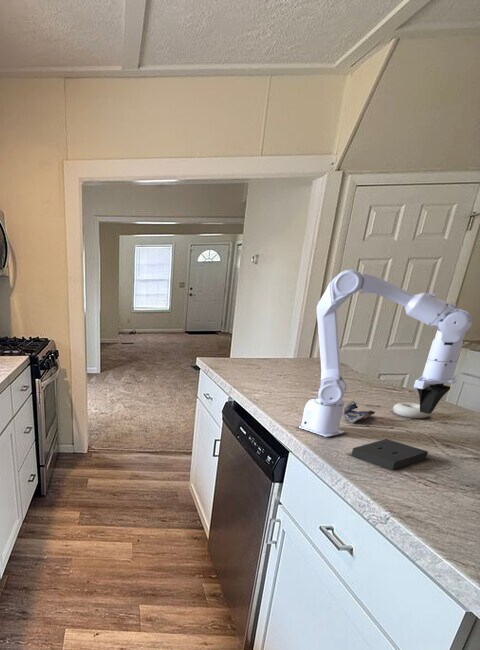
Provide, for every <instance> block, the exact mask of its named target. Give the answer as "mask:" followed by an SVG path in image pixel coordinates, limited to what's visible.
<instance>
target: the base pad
mask: <svg viewBox="0 0 480 650" xmlns="http://www.w3.org/2000/svg"><path fill="white" fill-rule="evenodd" d="M380 449H381V447H379V446H376V445H373V444H370V443H366V444H363V445H359V446H356V447H353V448H352V451H351V456H352V457H355V458H358V459H360V460H363V461H366V462H368V463H369V462H370V463H372V464H374V465H377V466H379V467H383V468H385V469H388V470H391V471H393V470H396V469H400V468H402V467H405V466H408V465H411V464H410V460H411V456H408V455H405V454H401V453H396V454H392V453H389V452H386V451H383V450H380Z"/></svg>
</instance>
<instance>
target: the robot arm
mask: <svg viewBox="0 0 480 650" xmlns="http://www.w3.org/2000/svg"><path fill="white" fill-rule="evenodd" d="M359 291H360V294H375V295H377V296H380V297H382V298H384V299H387V300H389V301H391V302H394V303H396V304H398V305H399V306H403V307H404V311H405V315H407V316H408V317H411V318H413V319H415V320H417V321H419V322H422V323H423V324H425V325H427V326H429V327H436V328H437V329H436V333H435V336H434V338H433V340H432V342H431V345H430V349H429V352H428V356H427V359H426V362H425V366H424V369H423V372H422V375H421V376H420V377H419V378H418V379H415V381H414V385H413V389H416V390H417V393H418V397H419V398H418V399H419V404H420V412H422V413H427V414H430V415H431V414H432V413H433V411H434V410H435V409H436V407H437V405H438V404H439V402H440V401H441V399H442V398H443V397H444V396H445V395H446V394H447V393H448V392H449V391H450V390H451V387H452V386H450V385H445V384H452V385H453V384H456V383H457V379H456V377H457V375H456V374H454V371H455V368H456V365H457V362H458V360H459V355H460V353H461V350H462V347H463V343H464V341H463V340H464V338H465V337H466V332H467V331H469V329H470V328H471V327H472V325H473V322H472V321H473V320H472V316H471V314H470V312H468V311H466V310H464V309H462V308H461V307H456V306H457V304H456V303H455V302H451V303H449V302H446V301H444V300H442V299H440V298H438V297H436V296H437V294H436V293H434V292H432V291H431V292H429V293H427V292H420V293H417V294H413V293H411V292H409V291H407V290H405V289H403V288H401V287H399V286H397V285H395V284H393V283H391V282H389V281H387V280H385V279H384V278H381V277H379V276H375V275H373V274H368V273H364V272H360V271H358V270H355V269H345V270H343V271H341V272H339V273H338V274H337V275H336V276H334V278H333V279H332V280H331V281H330V282H329V283H328V285H327V288H326V289H325V291H324V293H323V294H322V296H321V298H320V299H319V301H318V303H317V304H316V305H317V306H316V318H317V319H316V320H317V333H318V344H319V345H318V346H319V357H320V370H321V372H320V373H321V374H320V387H319V389H318V392H317V397H316V398H311V399H309V400H308V401H307V402H306V404H305V406H304V410H303V414H302V420H301V423H300V424H301V425H299V426H298V427H299V429H302V430H305V431H308V432H311V433H313V434H317V435H319V436H322V437H325V438H330V437H333V436H337V435H341V434H344V433H345V430H342V429H340V428H339V427H340V424H341V421H342V416H343V415H342V414H343V410H344V408H345V407H344V406H345V401H344V399H343V398H344V396H345V392H346V390H347V383H346V381H345V380H344V379H343V373H342V368H341V355H340V341H339V340H340V339H339V327H338V312H337V311H338V309H339V308H340V307H342V305H343V304H344V303H345V302H346V300H347V299H349V298H351V297H352V296H353V295H355V294H357V293H358V292H359Z"/></svg>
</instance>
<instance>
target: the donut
mask: <svg viewBox="0 0 480 650" xmlns="http://www.w3.org/2000/svg"><path fill="white" fill-rule="evenodd" d="M392 411H393V413H394V414H395V415H397V416H400V417H404V418H409V419H425V418H427V417H429V416H430V415H431V413H430V414H427V413H422V412H420V403H417V402H416V403H415V402H408V401H407V402H404V401H403V402H398V403H395V404H394V405H393V408H392Z"/></svg>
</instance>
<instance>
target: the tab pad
mask: <svg viewBox="0 0 480 650" xmlns="http://www.w3.org/2000/svg"><path fill="white" fill-rule="evenodd" d="M369 444H373V445H376V446H379V447H381V449H380V450H383V451H386V452H389V453H392V454H396V453H401V454H405V455H408V456H411V460H410V464H409V465H412V464H416V462H420V461H424V460H426V459H427V457H428V454H429V451H428V450H425V449H422V448H418V447H414V446H411V445H408V444H405V443H401V442H398V441H395V440H392V439H388V438H385V439H381V440H378V441H374V442H370V443H369Z"/></svg>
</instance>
